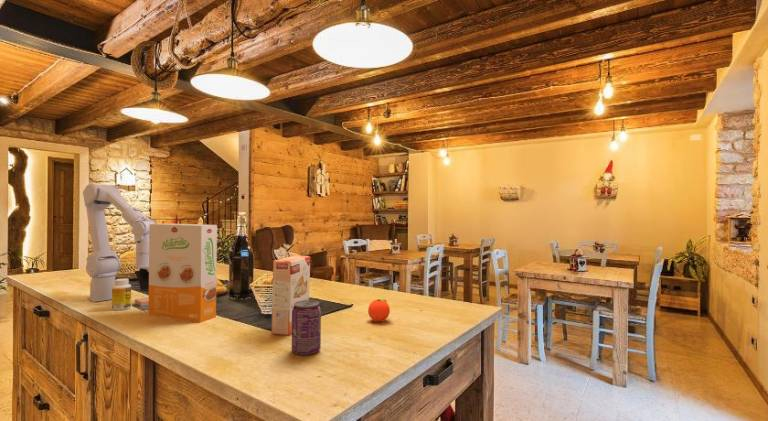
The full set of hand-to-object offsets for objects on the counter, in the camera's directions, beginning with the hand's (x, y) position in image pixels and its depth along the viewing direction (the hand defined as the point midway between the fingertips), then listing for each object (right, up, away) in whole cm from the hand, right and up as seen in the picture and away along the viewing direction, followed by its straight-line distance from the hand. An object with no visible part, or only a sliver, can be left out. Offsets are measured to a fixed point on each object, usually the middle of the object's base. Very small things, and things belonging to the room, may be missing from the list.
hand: (144, 289), depth 139 cm
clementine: (+87, -6, -19) cm, 90 cm away
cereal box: (+22, -6, -16) cm, 28 cm away
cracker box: (+61, -6, -27) cm, 67 cm away
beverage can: (+69, -6, -46) cm, 83 cm away
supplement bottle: (-3, -5, -8) cm, 10 cm away
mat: (+5, -5, -3) cm, 8 cm away
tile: (0, -4, 0) cm, 4 cm away
